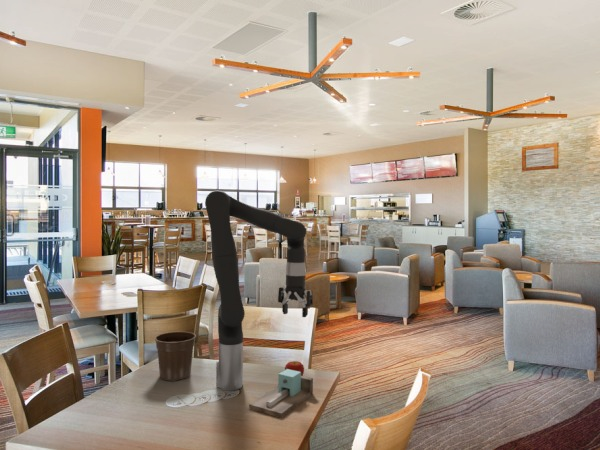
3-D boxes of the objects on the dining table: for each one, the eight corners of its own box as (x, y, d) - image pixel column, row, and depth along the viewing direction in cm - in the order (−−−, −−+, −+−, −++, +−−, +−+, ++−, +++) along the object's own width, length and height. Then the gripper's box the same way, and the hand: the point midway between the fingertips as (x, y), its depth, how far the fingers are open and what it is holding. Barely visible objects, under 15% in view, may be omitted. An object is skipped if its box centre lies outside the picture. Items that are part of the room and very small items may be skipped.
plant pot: (159, 368, 187) (159, 331, 187) (197, 368, 189) (198, 330, 189) (150, 383, 171) (150, 342, 171) (192, 382, 173) (193, 341, 172)
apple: (294, 375, 182) (294, 356, 182) (308, 380, 177) (308, 361, 177) (280, 380, 177) (280, 361, 177) (294, 385, 171) (294, 366, 171)
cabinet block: (277, 393, 160) (277, 374, 160) (286, 387, 166) (287, 368, 166) (291, 397, 157) (291, 377, 157) (300, 390, 163) (301, 372, 163)
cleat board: (249, 408, 151) (249, 391, 151) (282, 386, 170) (283, 371, 170) (281, 417, 145) (281, 399, 144) (312, 394, 164) (312, 378, 164)
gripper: (274, 273, 171) (274, 314, 171) (306, 276, 163) (306, 320, 164) (285, 271, 177) (284, 311, 178) (316, 274, 170) (315, 316, 170)
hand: (294, 315), depth 171 cm, fingers open, 8 cm apart
